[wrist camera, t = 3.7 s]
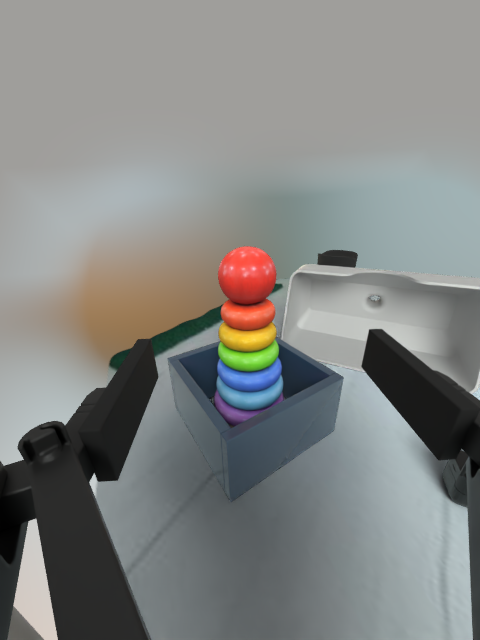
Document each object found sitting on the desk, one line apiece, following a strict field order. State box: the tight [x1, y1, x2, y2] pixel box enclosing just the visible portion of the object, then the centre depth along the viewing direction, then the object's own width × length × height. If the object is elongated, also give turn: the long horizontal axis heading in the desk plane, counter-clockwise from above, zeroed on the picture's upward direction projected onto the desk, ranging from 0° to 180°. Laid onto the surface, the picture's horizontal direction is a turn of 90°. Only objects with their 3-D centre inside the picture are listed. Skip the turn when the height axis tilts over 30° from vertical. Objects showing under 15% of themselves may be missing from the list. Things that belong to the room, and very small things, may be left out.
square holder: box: [168, 337, 344, 502], centre depth 27 cm, size 13×13×7 cm
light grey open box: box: [280, 264, 480, 394], centre depth 40 cm, size 25×16×12 cm, turn 63°
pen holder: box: [317, 250, 358, 268], centre depth 66 cm, size 9×9×10 cm
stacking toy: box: [214, 246, 284, 428], centre depth 25 cm, size 8×8×19 cm
